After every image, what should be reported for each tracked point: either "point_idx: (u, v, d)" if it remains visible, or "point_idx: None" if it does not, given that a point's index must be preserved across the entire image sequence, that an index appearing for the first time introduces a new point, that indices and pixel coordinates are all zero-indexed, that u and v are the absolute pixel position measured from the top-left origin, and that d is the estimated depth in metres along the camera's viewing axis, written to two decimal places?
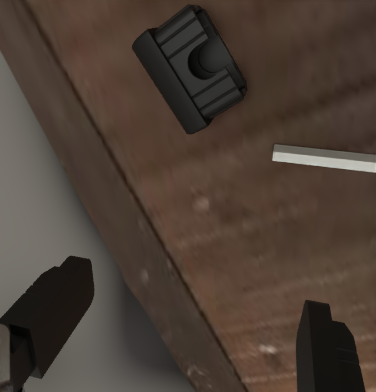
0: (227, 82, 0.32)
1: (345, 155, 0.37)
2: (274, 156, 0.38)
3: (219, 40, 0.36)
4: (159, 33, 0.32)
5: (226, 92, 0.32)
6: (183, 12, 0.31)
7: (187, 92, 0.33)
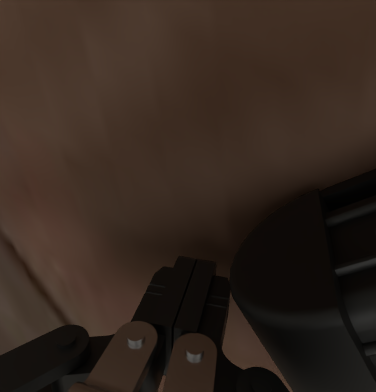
0: None
1: None
2: None
3: None
4: (374, 312, 0.08)
5: None
6: None
7: None
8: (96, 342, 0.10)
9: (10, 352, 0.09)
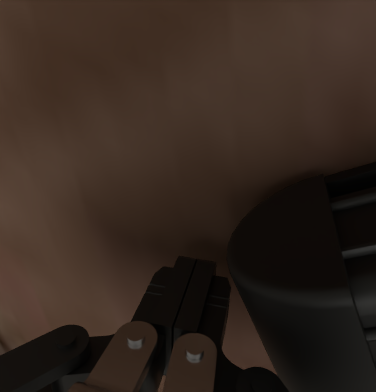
0: None
1: None
2: None
3: None
4: None
5: None
6: None
7: None
8: (96, 342, 0.10)
9: (10, 352, 0.09)
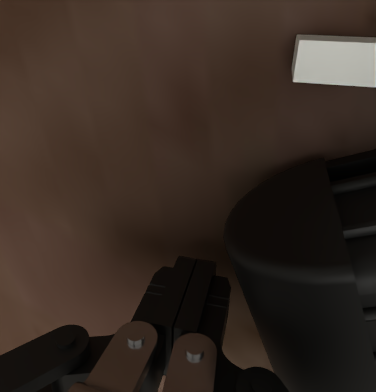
0: None
1: None
2: None
3: None
4: None
5: None
6: None
7: None
8: (96, 342, 0.10)
9: (10, 352, 0.09)
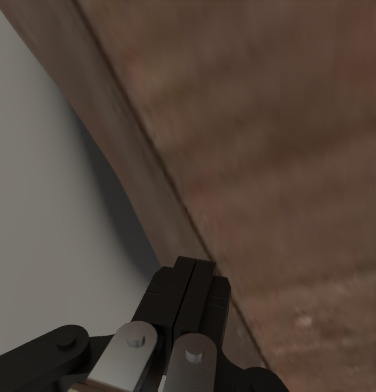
0: None
1: None
2: None
3: None
4: None
5: None
6: None
7: None
8: (96, 342, 0.10)
9: (10, 352, 0.09)
